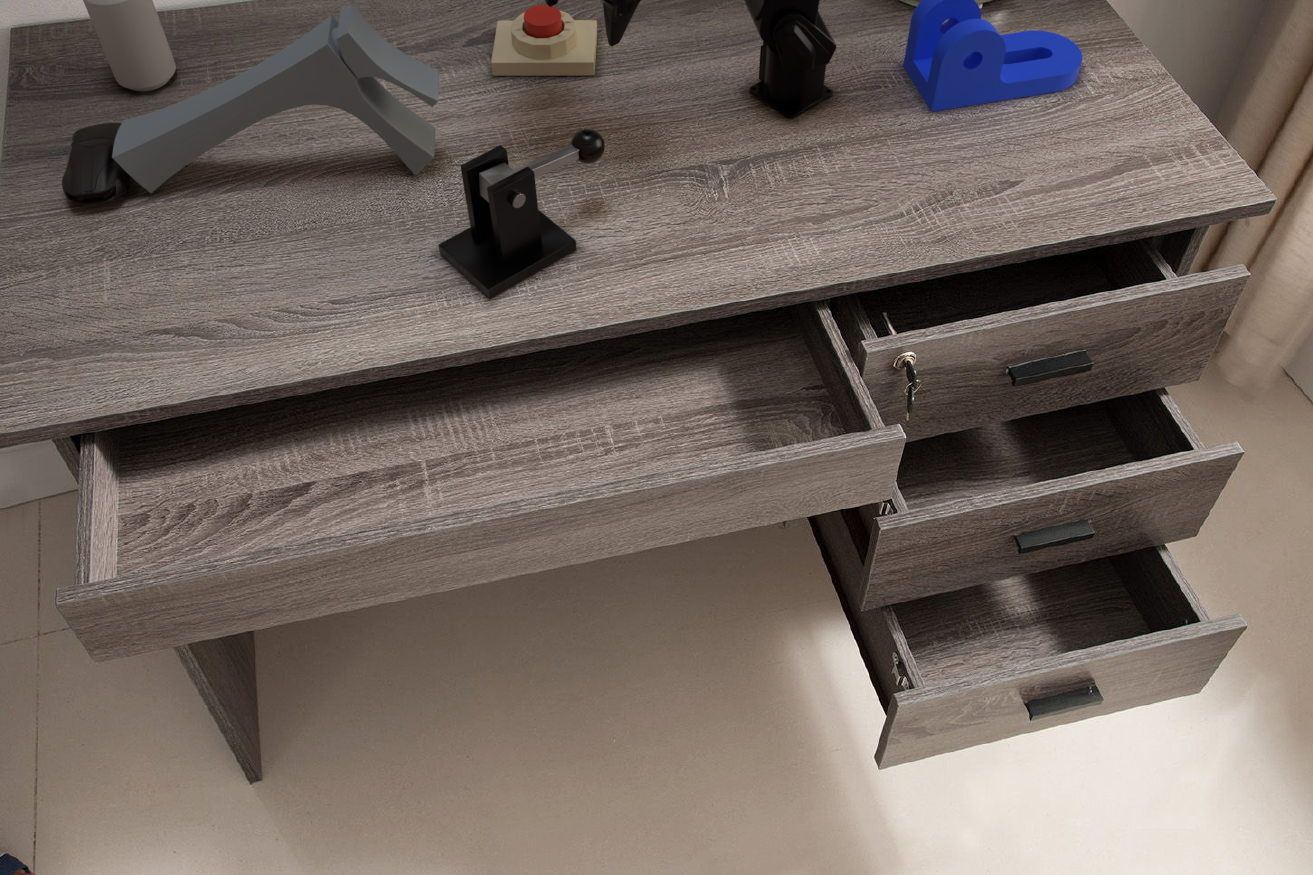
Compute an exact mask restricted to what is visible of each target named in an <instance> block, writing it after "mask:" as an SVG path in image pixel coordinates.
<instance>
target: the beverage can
mask: <svg viewBox="0 0 1313 875" xmlns="http://www.w3.org/2000/svg"><path fill="white" fill-rule="evenodd" d="M82 1H83V4H84V6H85V9H86V10H87V13H88V16H89V18H90V21H91V23H92V26H93V28H94V31H95V33H96V36H97V39H98V40H99V43H100V46H101V48H102V51H103V53H104V55H105V57H106V60H107V62H108V65H109V67H110V70H111V72H112V75H113V77H114V79H115V81H116V82H117V84H118V85H120V86H121V87H123V88H126V89H128V90H132V91H135V92H150V91H155V90H157V89H160V88H162V87H163V86H165V85H166V84H167V83H168V82H169V81H170V80H171V78H172V77H173V76H174V75H175V72H176V70H177V65H176V60H175V59H174V56H173V53H172V51H171V47H170V45H169V42H168V40H167V37H166V36H167V35H166V34H165V31H164V29H163V25H162V23H161V21H160V18H159V14H158V12H157V9H156V7H155V4H154V1H153V0H82Z"/></svg>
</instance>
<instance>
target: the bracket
mask: <svg viewBox="0 0 1313 875" xmlns="http://www.w3.org/2000/svg"><path fill="white" fill-rule="evenodd" d="M945 21H946V22H945ZM1082 62H1083V53H1082V50H1081V49H1080V47H1079V46H1078V45H1077V44H1076V43H1075V42H1074V41H1073V40H1071V39H1070V38H1067V37H1065V36H1064V35H1061V34H1058V33H1055V32H1051V31H1046V30H1025V31H1019V32H1011V33H1006V34H1005V33H1004V34H1000V33H999V32H998V30H997V29H996V27H995V26H994V25H993V24H992V22H990V21H988V20H986V19H983V18H982V12H981V8H980V5H979V3H978V2H976V0H921V1H919V3H918V4H917V5H916V7H915V9H914V11H913V12H912V16H911V18H910V24H909V29H908V35H907V42H906V47H905V53H904V59H903V64H902V67H903V69H904V70H905V72H906V73H907V75H908V76H909V79H911V81H912V83H913V84H914V86H915V88H916V89H917V91H918V92H919V94H920V96H921V97H922V99H923V100H924V102H925V103H926V105H927V107H928V108H929V111H930V112H931V113H933V112H938V111H945V110H951V109H957V108H964V107H970V106H975V105H982V104H988V103H994V102H1002V101H1007V100H1013V99H1020V98H1021V99H1022V98H1025V97H1032V96H1039V95H1045V94H1051V93H1057V92H1061V91H1064V90H1066V89H1069V88H1071V86H1073V85H1074V84H1075V82H1076V81H1077V78H1078V75H1079V73H1080V69H1081V67H1082Z"/></svg>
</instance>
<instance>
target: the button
mask: <svg viewBox="0 0 1313 875" xmlns="http://www.w3.org/2000/svg"><path fill="white" fill-rule="evenodd" d="M559 10H560V9H559V8H557V7H556V6H552V7H549V6H548V5H547V4H538V5H534V6H531V7H529V8H528V9H526V10H525V11H524V12H525V13H524V12H523V13H524V25H525V32H526V34H527V35H528V36H531V37H533V38H550V37H553V36H556V35H559V34H560V33H561V31H562V19H561V12H560V11H561V10H560V11H559Z"/></svg>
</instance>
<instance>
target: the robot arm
mask: <svg viewBox="0 0 1313 875" xmlns="http://www.w3.org/2000/svg"><path fill="white" fill-rule="evenodd" d="M600 1H601V2H602V9H603V16H604V17H603V18H604V25H605V34H606V38H607V43H608V46H610V47H614V46H617V45H619V43H620V42H621V41H622V38H623V37H624V35H625V32H626V31H627V28H628V26H629V24H630V23H631V20H632V18H633V16H634V14H635V12H636V10H637V8H638V6H639V4H640V3H641V1H642V0H600ZM743 1H744V3H745V6H746V8H747V11H748V13H749V15H750V17H751V19H752V21H753V24H754V26H755V28H756V30H757V32H758V35H759V37H760V39H761V41H762V45H760V49H759V50H760V51H759V52H760V53H759V65H758V66H759V67H758V80H759V82H757V83H755V84H753V85H750V87H749V91H748V92H749V94H750V95H752V96H753V97H754V98H756V99H758V100H759V101H760V102H762V103H764V104H765V105H766V106H769V107H770V108H771V109H773V110H774V111H776V112H777V113H778V114H780V115H782V116H783V117H785V118H786V119H788V120H793V119H795V118H797V117H798V116H800V115H802V114H804V113H806V112H807V111H809V110H811V109H813V108H814V107H816V106H818V105H820V104H822V103H823V102H825V101H827V100H829V99H830V98H832V97H833V94H834V91H833V90H832V89H831V88H829V87H828V86H827V85H825V80H826V79H825V78H826V70H827V65H828V64H829V63H830V62H831V60H832V58H833V56H834V54H835V52H836V50H837V44H836V42H835V40H834V38H833V36H832V34H831V32H830V30H829V29H828V27H827V25H826V23H825V21H824V19H823V17H822V15H821V13H820V11H819V7H820V1H821V0H743ZM544 2H545V5H548V6H549V7H552V6H553V7H555V6H556V5H557V4H558V3H559V0H544Z"/></svg>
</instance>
